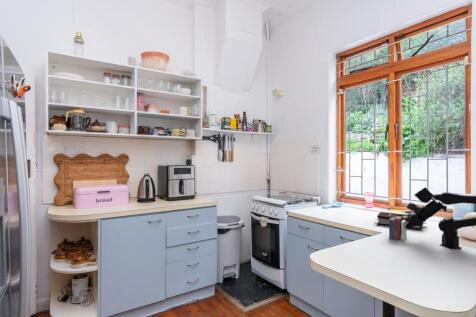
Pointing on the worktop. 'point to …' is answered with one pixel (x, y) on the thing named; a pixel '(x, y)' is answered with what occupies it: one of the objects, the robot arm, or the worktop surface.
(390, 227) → the book row
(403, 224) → the bookend
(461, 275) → the worktop surface
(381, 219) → the decorative book
